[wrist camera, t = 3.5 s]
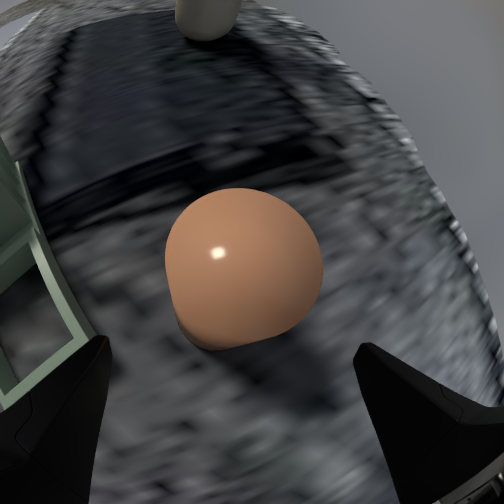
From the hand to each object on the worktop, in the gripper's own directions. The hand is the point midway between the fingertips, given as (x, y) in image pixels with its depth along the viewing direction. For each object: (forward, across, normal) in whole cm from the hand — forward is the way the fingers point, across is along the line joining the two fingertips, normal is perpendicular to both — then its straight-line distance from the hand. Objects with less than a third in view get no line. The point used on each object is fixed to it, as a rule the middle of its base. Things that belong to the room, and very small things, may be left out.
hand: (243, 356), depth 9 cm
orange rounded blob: (+10, 0, +5) cm, 11 cm away
